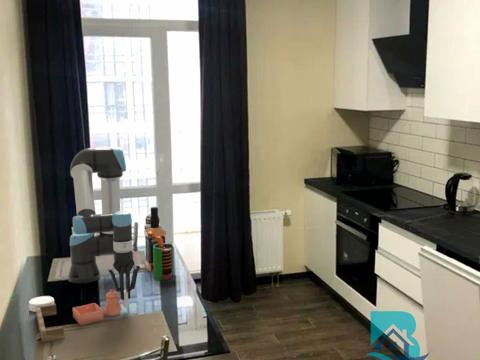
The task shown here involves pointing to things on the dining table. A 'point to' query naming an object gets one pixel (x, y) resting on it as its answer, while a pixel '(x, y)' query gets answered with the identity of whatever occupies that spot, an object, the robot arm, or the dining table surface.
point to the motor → (162, 260)
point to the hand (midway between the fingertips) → (125, 306)
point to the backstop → (45, 333)
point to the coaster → (40, 302)
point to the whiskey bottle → (152, 237)
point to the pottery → (97, 309)
